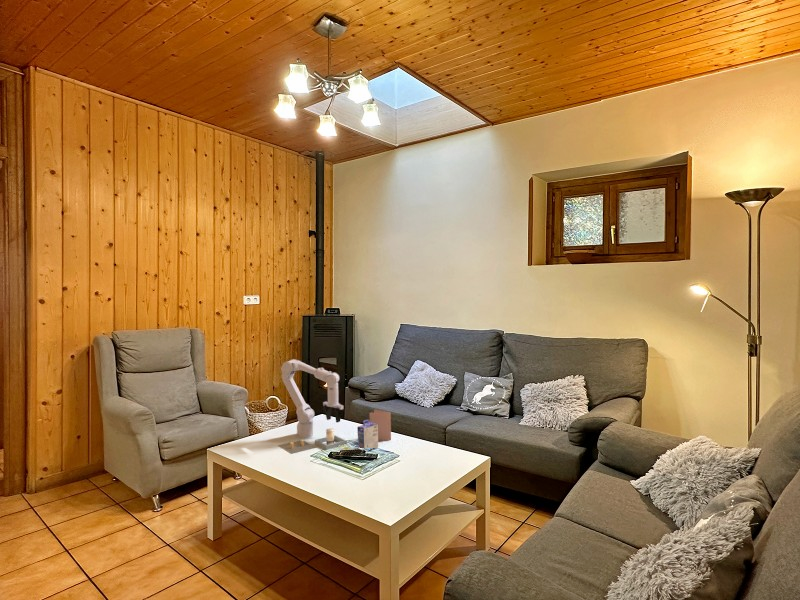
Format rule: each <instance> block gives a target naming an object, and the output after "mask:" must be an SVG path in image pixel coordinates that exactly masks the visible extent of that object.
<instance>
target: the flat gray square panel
mask: <svg viewBox="0 0 800 600" xmlns="http://www.w3.org/2000/svg"><path fill="white" fill-rule="evenodd" d="M277 447H279V448H280V449H282V450H284V451H285V452H287V453H289V454H290V455H292V454H298V453H301V452H306V451H309V450H313V449H317V448H318V447H317V446H315V445H314V444H311V443H310V442H307V441H305V440H304V439H300V440H297V441H291V442H287V443H283V444H278V445H277Z"/></svg>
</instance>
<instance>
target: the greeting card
mask: <svg viewBox="0 0 800 600" xmlns="http://www.w3.org/2000/svg"><path fill="white" fill-rule="evenodd" d="M391 413H392V412H389V411H385V410H379V409H373V412H369V422H370V423H375V424H378V441H392V426H391V425H392V421H391V420H392V419H391V417H392V414H391Z"/></svg>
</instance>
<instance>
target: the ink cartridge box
mask: <svg viewBox="0 0 800 600" xmlns="http://www.w3.org/2000/svg"><path fill="white" fill-rule="evenodd" d="M362 422H363V424H362V425H359V426H357V447H360V448H364V449H366V448H375V449H378V448H379V440H378V424H375V423H370V419H365V420H364V419H363V421H362Z"/></svg>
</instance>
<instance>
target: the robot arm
mask: <svg viewBox="0 0 800 600" xmlns="http://www.w3.org/2000/svg"><path fill="white" fill-rule="evenodd" d="M280 371H281V379H282V382H283V384H284V386H285V388H286V390H287V392H288V393H289V396H290V398H291V400H292V402H293V404H294V405H295V407H296V410H295V411H296V412H295V413H296V416H297V421H298V422H297V424H296V435H297V436H299V437H300V438H301V439H308V438H312V437H314V420H313V419H314V417H315V410H314V409H312V408H311V406H310V405H309V403H306V401H305V399H304V397H303V396H302V394H301V391H300V389H299V387H298V386H297V384H296V382H295V380H294V377H295V373H296V372H297V371H303V372H306V373H308V374H311V375H314V377H315V378H316V379H318V380H320V381H323V382H325V383H326V384H327V401H323V402H322V405H323V407H322V410H323V412H324V414H325V418H326V420H327V421H329V420H331V419H332V411H333V412H334V416H335V422H336V423H340V422H341V419H342V415H343V413H344V410H345V409H344V405H343V404H341V403H340V402H339V381H340V375H339V374H338V373H337V372H332V371H331V370H329V371H328V370H326V369H325V368H324V367H318V368H315V367H313V366H311V365H309V364H306V363H305V362H302V360H298V359H295V358H293V359H290V360H288V361H287V360H286V361H284V362H283V363H282V365H281V367H280ZM333 408H334V409H333Z"/></svg>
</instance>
